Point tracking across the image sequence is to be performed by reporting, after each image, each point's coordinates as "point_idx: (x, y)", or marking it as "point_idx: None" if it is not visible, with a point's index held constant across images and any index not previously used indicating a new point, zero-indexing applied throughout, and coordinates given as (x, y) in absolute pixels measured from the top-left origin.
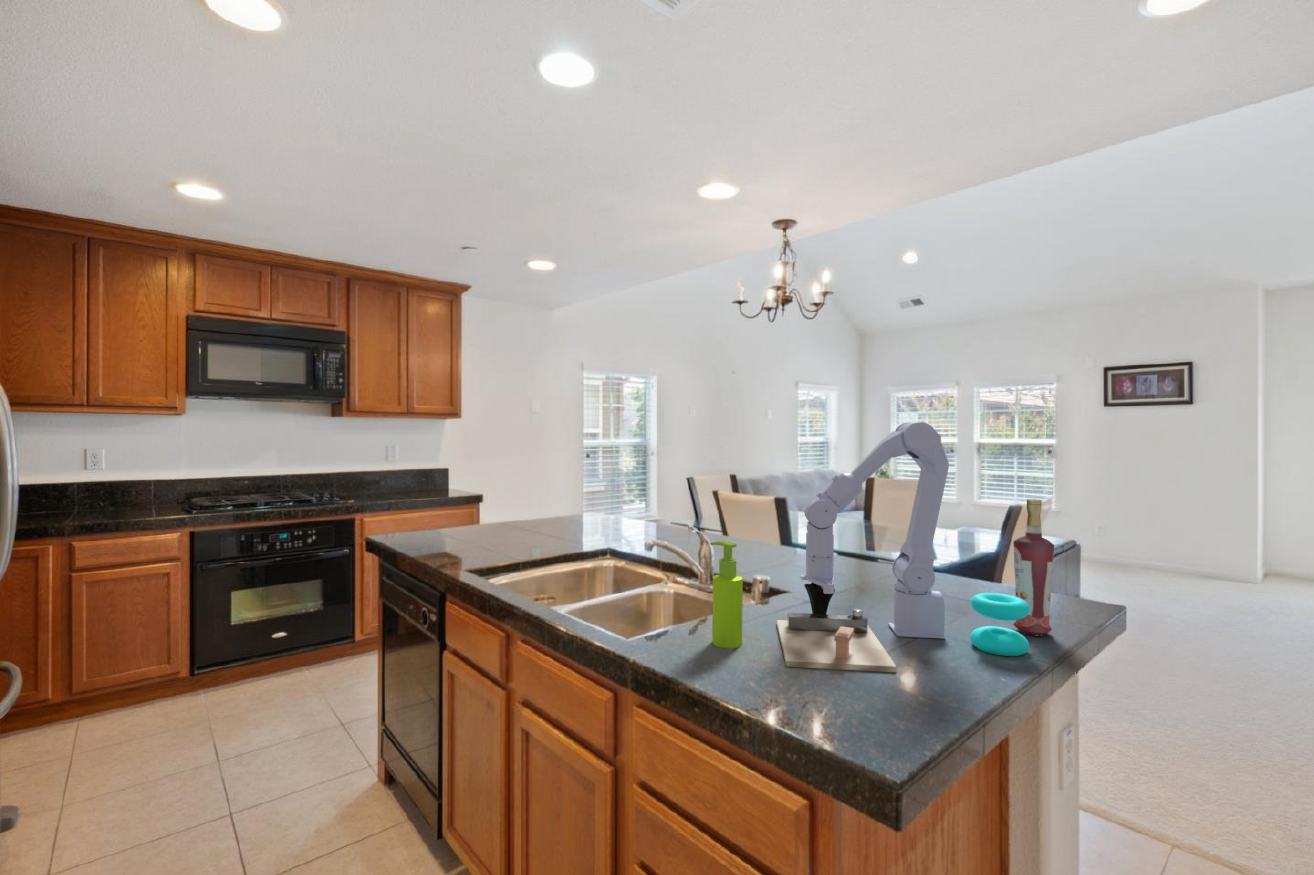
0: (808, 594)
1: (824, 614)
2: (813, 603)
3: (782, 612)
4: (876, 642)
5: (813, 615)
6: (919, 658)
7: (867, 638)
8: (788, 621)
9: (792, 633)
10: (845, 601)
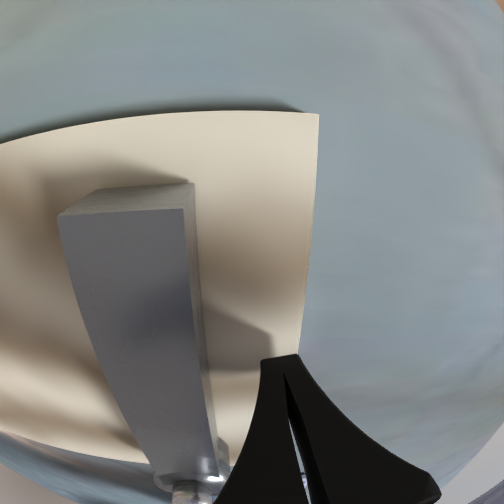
0: (364, 451)
1: (204, 426)
2: (245, 441)
3: (492, 190)
4: (98, 452)
5: (163, 383)
6: (80, 468)
7: (121, 448)
8: (110, 198)
9: (46, 209)
10: (501, 380)
